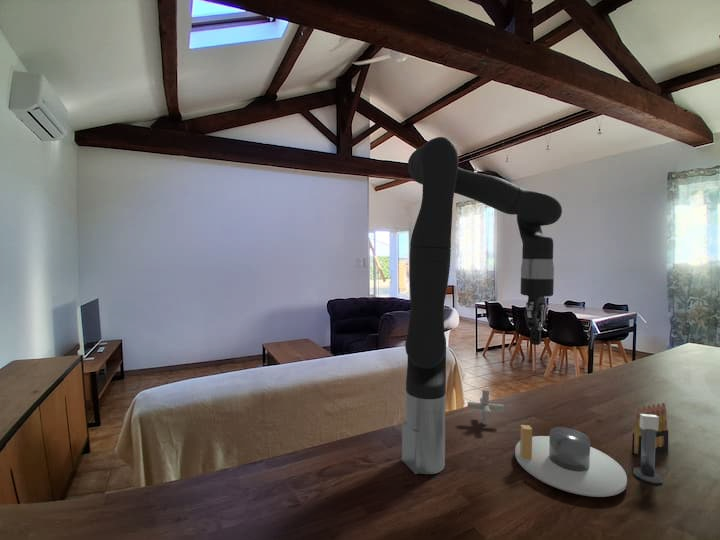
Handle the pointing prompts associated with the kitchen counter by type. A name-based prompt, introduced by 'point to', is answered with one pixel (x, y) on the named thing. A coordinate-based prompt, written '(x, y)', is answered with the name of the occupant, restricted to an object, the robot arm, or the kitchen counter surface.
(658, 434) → the ammunition clip
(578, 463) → the cover
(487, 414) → the pipe connector
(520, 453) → the platter
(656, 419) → the stand
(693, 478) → the kitchen counter surface
